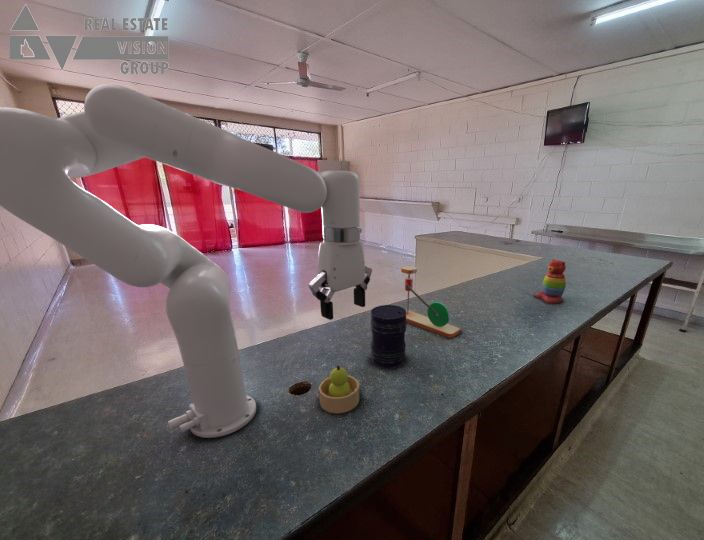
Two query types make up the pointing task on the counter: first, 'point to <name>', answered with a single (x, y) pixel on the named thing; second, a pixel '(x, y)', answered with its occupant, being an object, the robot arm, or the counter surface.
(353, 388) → the bowl
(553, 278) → the stacking bear
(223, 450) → the counter surface
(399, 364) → the storage jar
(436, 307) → the crank mechanism
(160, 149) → the robot arm
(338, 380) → the pear plush
